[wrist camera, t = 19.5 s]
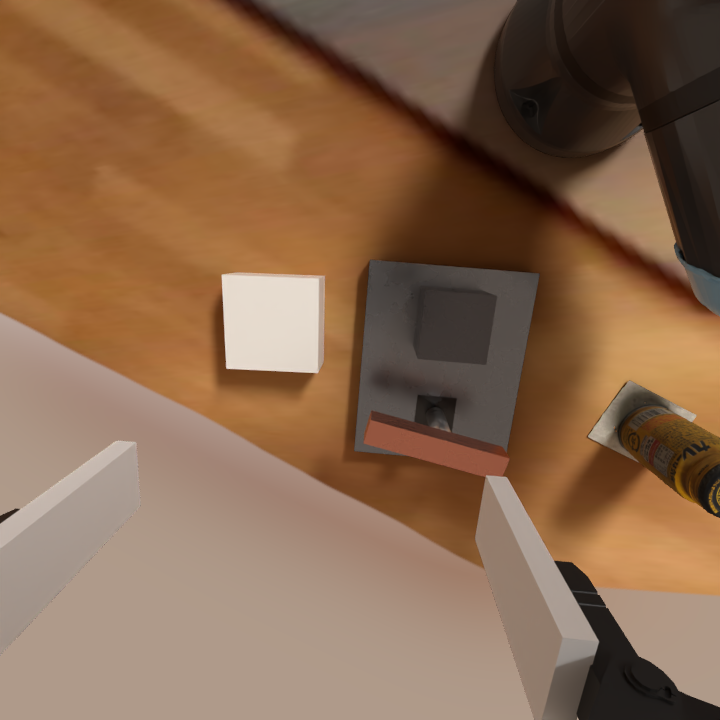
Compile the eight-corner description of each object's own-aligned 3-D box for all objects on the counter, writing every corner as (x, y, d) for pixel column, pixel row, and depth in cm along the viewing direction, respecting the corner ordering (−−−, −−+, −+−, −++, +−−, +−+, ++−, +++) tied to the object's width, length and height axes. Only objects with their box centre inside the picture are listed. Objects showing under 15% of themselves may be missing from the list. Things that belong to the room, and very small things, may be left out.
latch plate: (370, 259, 41) (368, 261, 34) (532, 272, 41) (562, 276, 34) (355, 442, 46) (351, 475, 40) (499, 456, 46) (519, 491, 39)
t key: (366, 406, 43) (363, 443, 35) (372, 387, 42) (370, 420, 34) (477, 437, 43) (500, 481, 35) (484, 418, 42) (509, 458, 34)
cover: (237, 272, 42) (221, 274, 38) (324, 276, 42) (319, 278, 38) (240, 357, 44) (226, 368, 40) (323, 361, 44) (317, 373, 40)
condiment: (652, 469, 45) (745, 543, 34) (586, 436, 45) (658, 500, 33) (695, 414, 44) (809, 473, 32) (627, 379, 43) (718, 426, 31)
